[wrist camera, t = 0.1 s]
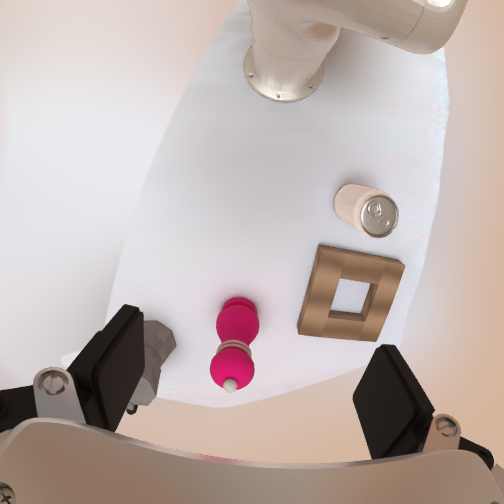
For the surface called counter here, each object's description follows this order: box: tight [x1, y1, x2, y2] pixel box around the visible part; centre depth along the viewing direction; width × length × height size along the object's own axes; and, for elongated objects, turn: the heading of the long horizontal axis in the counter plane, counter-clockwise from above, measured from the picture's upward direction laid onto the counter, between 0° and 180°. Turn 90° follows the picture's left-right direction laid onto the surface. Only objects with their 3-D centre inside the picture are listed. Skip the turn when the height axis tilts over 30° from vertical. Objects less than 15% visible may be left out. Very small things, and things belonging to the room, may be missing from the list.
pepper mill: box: [210, 298, 259, 392], centre depth 41 cm, size 7×7×20 cm
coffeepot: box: [126, 321, 176, 415], centre depth 45 cm, size 15×9×18 cm, turn 165°
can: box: [334, 184, 399, 238], centre depth 39 cm, size 6×6×12 cm
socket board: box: [297, 245, 405, 342], centre depth 48 cm, size 16×16×3 cm
